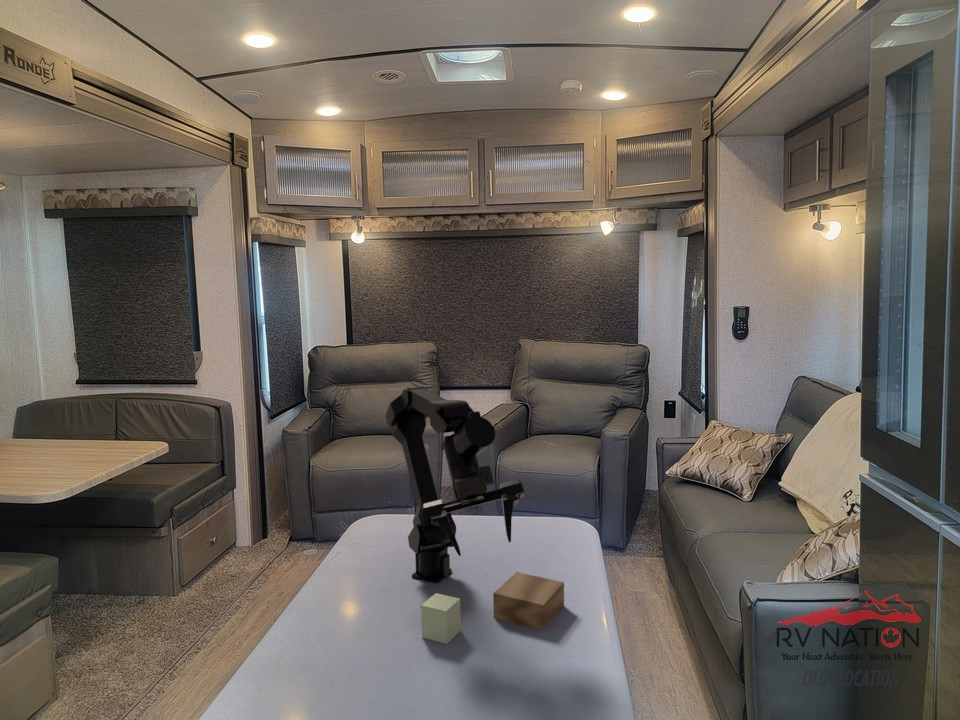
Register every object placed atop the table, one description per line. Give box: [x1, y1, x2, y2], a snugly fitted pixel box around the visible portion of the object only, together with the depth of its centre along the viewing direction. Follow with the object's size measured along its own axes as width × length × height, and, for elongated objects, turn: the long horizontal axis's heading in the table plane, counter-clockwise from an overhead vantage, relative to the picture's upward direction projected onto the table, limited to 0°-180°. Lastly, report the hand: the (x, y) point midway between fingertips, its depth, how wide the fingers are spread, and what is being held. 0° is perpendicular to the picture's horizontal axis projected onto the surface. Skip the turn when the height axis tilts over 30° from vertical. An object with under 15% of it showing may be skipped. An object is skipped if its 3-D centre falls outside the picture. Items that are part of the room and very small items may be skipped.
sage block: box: [420, 593, 462, 645], centre depth 116 cm, size 5×5×6 cm
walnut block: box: [492, 571, 565, 631], centre depth 124 cm, size 10×10×5 cm
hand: (485, 548), depth 117 cm, fingers open, 9 cm apart
